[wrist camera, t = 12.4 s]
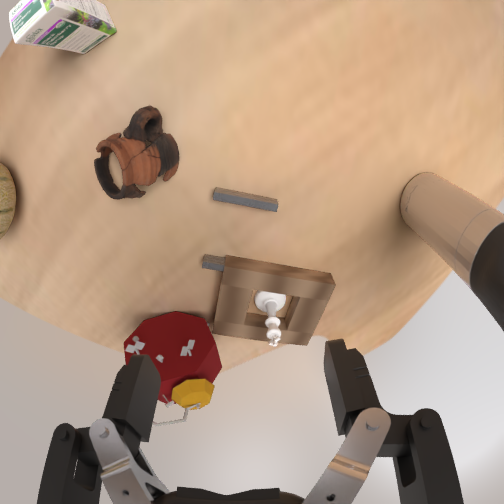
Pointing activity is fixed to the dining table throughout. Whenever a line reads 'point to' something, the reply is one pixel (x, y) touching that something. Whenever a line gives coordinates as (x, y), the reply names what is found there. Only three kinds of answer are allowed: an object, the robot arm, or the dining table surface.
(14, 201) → the cantaloupe
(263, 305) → the chess piece
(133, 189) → the pottery mug
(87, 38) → the syrup box
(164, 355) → the alarm clock
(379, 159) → the dining table surface
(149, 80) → the dining table surface
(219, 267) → the stand rails
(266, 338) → the block
